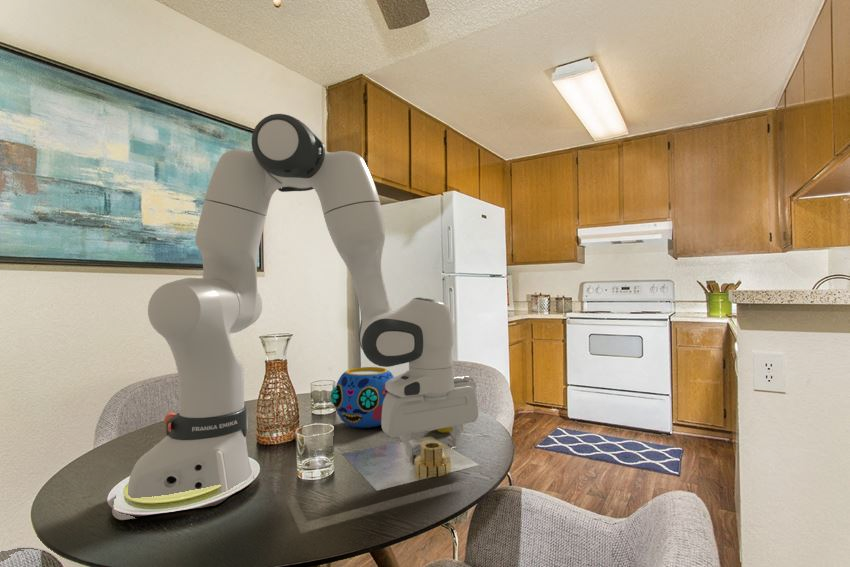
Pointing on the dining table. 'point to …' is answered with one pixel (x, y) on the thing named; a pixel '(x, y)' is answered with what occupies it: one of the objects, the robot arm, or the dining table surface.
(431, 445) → the gear
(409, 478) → the plate
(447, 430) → the lemon
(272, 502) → the dining table surface
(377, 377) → the ceramic pot
